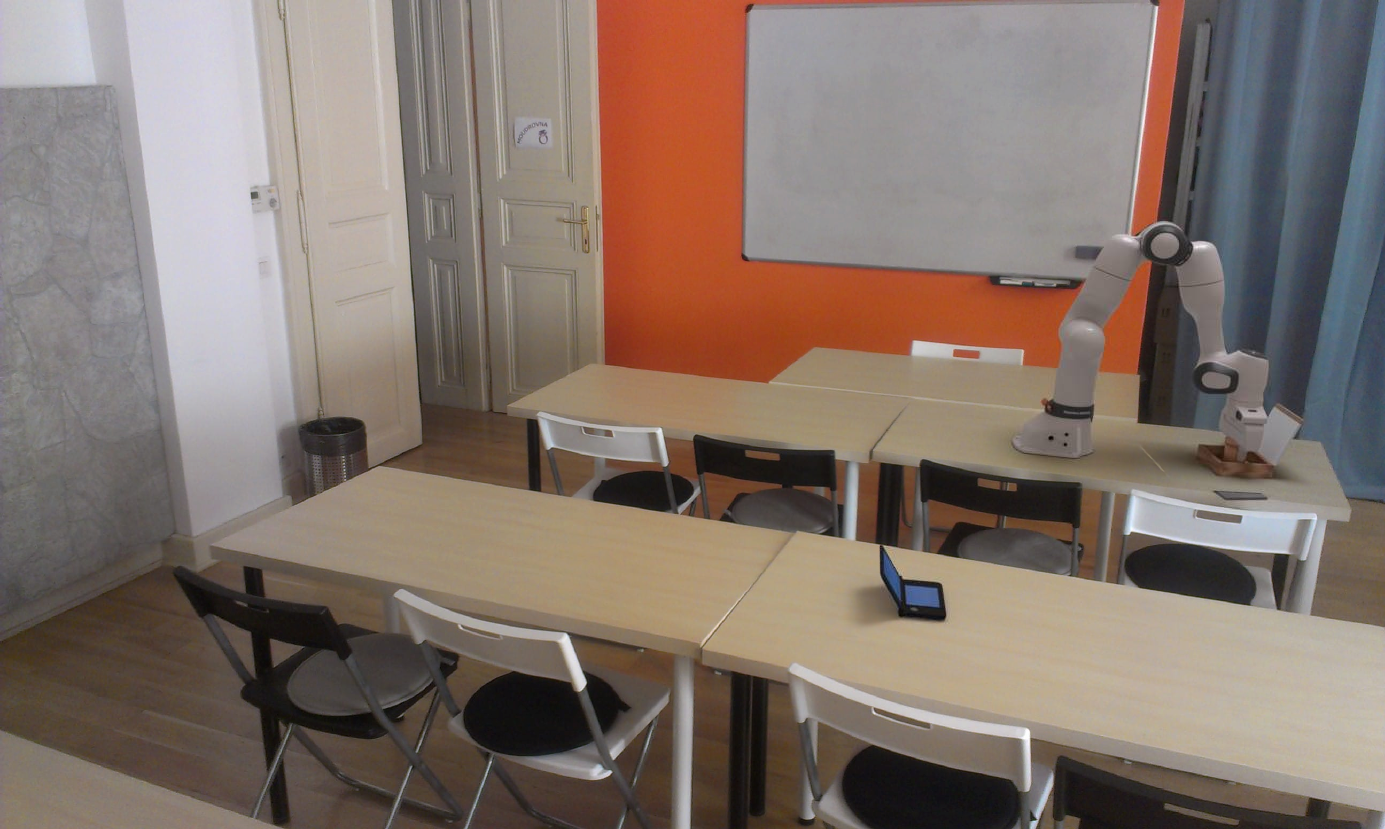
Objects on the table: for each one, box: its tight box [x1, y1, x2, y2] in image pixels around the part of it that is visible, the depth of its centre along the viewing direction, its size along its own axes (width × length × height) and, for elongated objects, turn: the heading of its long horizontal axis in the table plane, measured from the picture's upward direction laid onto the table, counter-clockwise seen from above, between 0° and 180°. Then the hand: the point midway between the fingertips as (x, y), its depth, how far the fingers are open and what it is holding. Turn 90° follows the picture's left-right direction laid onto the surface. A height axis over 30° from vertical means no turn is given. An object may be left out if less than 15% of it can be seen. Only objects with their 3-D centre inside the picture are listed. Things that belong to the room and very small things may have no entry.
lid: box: [1257, 402, 1306, 467], centre depth 282 cm, size 14×16×1 cm
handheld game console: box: [879, 544, 947, 621], centre depth 207 cm, size 16×13×9 cm
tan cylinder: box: [1222, 436, 1247, 463], centre depth 285 cm, size 6×6×8 cm
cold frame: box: [1196, 443, 1275, 480], centre depth 285 cm, size 14×16×4 cm
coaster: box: [1213, 490, 1269, 501], centre depth 270 cm, size 11×11×1 cm
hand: (1234, 456), depth 285 cm, fingers closed on tan cylinder, 6 cm apart
